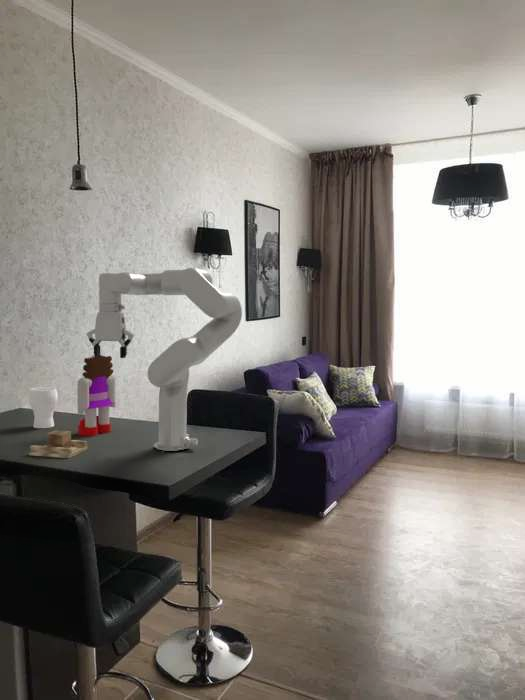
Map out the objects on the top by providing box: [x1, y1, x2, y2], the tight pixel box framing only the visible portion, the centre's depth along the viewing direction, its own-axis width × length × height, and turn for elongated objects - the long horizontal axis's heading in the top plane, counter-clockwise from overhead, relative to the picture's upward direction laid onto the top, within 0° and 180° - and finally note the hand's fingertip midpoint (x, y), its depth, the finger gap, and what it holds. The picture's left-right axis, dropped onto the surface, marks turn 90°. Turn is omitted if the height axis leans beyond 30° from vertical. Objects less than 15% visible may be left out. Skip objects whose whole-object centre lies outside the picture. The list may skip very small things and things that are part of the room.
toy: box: [76, 354, 116, 437], centre depth 215 cm, size 18×9×30 cm, turn 149°
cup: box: [28, 386, 59, 429], centre depth 224 cm, size 11×11×15 cm
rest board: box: [28, 439, 88, 459], centre depth 187 cm, size 14×12×3 cm
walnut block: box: [46, 429, 72, 448], centre depth 187 cm, size 6×6×6 cm
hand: (110, 357), depth 200 cm, fingers open, 9 cm apart
